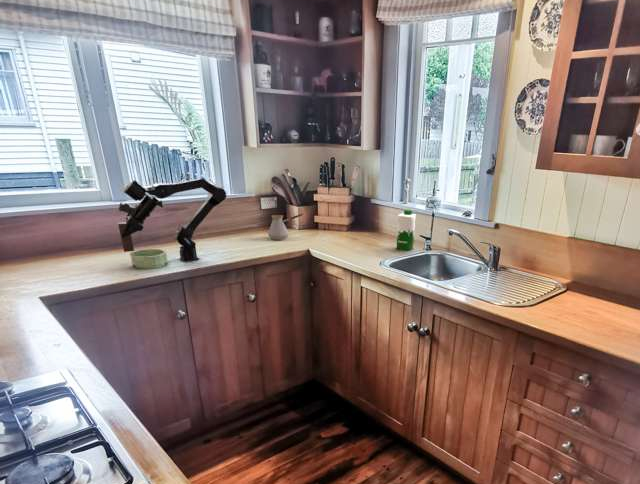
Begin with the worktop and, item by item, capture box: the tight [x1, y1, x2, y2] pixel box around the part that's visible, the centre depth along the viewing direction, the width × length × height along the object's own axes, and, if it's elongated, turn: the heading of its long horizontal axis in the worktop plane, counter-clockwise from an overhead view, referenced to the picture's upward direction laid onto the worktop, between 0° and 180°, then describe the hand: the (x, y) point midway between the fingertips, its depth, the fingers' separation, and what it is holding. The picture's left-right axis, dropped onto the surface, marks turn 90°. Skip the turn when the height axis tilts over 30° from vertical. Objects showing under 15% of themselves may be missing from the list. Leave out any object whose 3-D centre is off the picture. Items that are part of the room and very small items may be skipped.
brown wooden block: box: [117, 221, 135, 253], centre depth 203 cm, size 4×4×12 cm
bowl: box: [129, 248, 168, 270], centre depth 208 cm, size 15×15×6 cm
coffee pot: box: [267, 213, 304, 241], centre depth 260 cm, size 21×12×15 cm, turn 78°
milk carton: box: [396, 209, 417, 252], centre depth 248 cm, size 9×9×20 cm
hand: (122, 235), depth 202 cm, fingers closed on brown wooden block, 4 cm apart
